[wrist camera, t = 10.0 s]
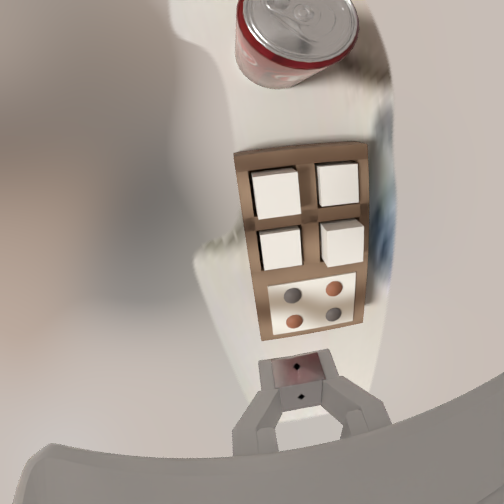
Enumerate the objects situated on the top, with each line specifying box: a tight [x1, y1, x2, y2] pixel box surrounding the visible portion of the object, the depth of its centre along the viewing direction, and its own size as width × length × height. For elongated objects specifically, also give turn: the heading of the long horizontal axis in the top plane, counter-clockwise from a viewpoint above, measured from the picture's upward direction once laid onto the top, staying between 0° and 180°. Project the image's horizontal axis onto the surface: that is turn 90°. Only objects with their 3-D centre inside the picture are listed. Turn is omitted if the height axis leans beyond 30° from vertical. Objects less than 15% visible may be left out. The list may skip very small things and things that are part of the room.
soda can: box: [235, 0, 359, 89], centre depth 17 cm, size 7×7×12 cm
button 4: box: [314, 160, 359, 207], centre depth 26 cm, size 4×4×2 cm
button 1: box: [258, 225, 302, 270], centre depth 28 cm, size 4×4×2 cm
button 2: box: [251, 167, 301, 220], centre depth 25 cm, size 4×4×2 cm
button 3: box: [319, 218, 364, 267], centre depth 27 cm, size 4×4×2 cm
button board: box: [234, 141, 369, 341], centre depth 29 cm, size 20×12×3 cm, turn 7°
